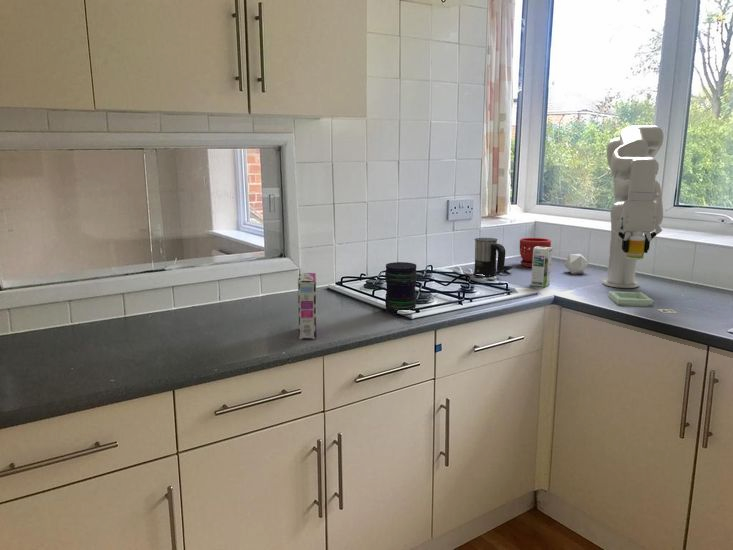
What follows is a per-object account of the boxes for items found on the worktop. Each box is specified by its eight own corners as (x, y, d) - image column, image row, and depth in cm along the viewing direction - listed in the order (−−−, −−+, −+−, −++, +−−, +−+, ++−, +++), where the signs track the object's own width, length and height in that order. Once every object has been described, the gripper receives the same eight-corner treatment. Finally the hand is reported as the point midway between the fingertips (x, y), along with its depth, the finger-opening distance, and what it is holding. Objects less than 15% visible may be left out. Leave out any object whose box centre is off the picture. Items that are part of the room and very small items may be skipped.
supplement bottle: (645, 260, 187) (648, 230, 185) (627, 259, 188) (630, 230, 186) (640, 257, 192) (643, 228, 190) (623, 256, 193) (626, 228, 191)
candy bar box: (317, 339, 155) (316, 281, 152) (298, 340, 155) (297, 281, 151) (317, 327, 166) (316, 272, 163) (300, 327, 166) (298, 272, 162)
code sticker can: (657, 309, 184) (657, 308, 184) (671, 309, 183) (671, 309, 183) (662, 312, 180) (662, 312, 180) (677, 313, 179) (677, 313, 179)
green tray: (608, 296, 199) (608, 291, 199) (641, 297, 198) (642, 292, 197) (617, 305, 189) (618, 299, 188) (652, 306, 187) (653, 300, 187)
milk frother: (469, 275, 234) (470, 239, 231) (485, 268, 247) (486, 234, 243) (502, 279, 226) (504, 242, 223) (517, 272, 239) (518, 237, 235)
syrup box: (530, 285, 216) (532, 247, 213) (535, 282, 221) (537, 245, 218) (545, 287, 213) (548, 249, 210) (550, 284, 218) (552, 246, 215)
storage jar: (418, 315, 178) (419, 268, 175) (386, 315, 177) (387, 268, 174) (413, 306, 188) (414, 261, 185) (383, 307, 187) (383, 262, 184)
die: (586, 277, 232) (594, 257, 234) (568, 267, 231) (577, 246, 234) (575, 280, 240) (583, 260, 242) (558, 270, 239) (566, 250, 242)
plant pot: (555, 266, 250) (557, 239, 247) (534, 270, 244) (535, 242, 241) (533, 261, 261) (535, 235, 258) (512, 264, 255) (513, 238, 252)
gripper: (664, 196, 188) (658, 250, 192) (609, 196, 190) (604, 249, 194) (673, 198, 181) (666, 254, 185) (616, 198, 183) (611, 253, 187)
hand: (635, 251), depth 190 cm, fingers closed on supplement bottle, 5 cm apart
